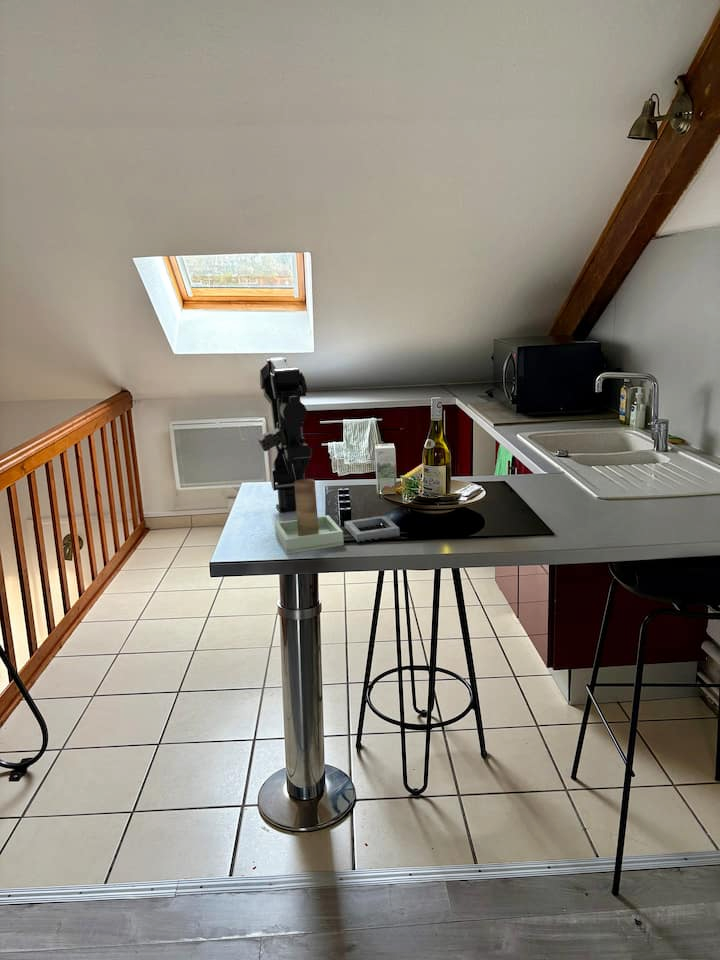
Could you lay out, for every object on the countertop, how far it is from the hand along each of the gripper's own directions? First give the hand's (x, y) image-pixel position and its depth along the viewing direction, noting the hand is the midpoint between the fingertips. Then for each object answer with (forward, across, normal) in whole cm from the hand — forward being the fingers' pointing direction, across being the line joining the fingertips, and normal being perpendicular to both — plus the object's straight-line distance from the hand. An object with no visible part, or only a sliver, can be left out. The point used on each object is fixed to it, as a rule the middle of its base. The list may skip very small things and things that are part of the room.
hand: (294, 478), depth 191 cm
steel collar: (+13, +13, +16) cm, 24 cm away
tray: (+13, +12, 0) cm, 18 cm away
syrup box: (+13, -19, +31) cm, 39 cm away
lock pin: (+12, +12, 0) cm, 17 cm away
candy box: (+13, -11, +37) cm, 41 cm away
